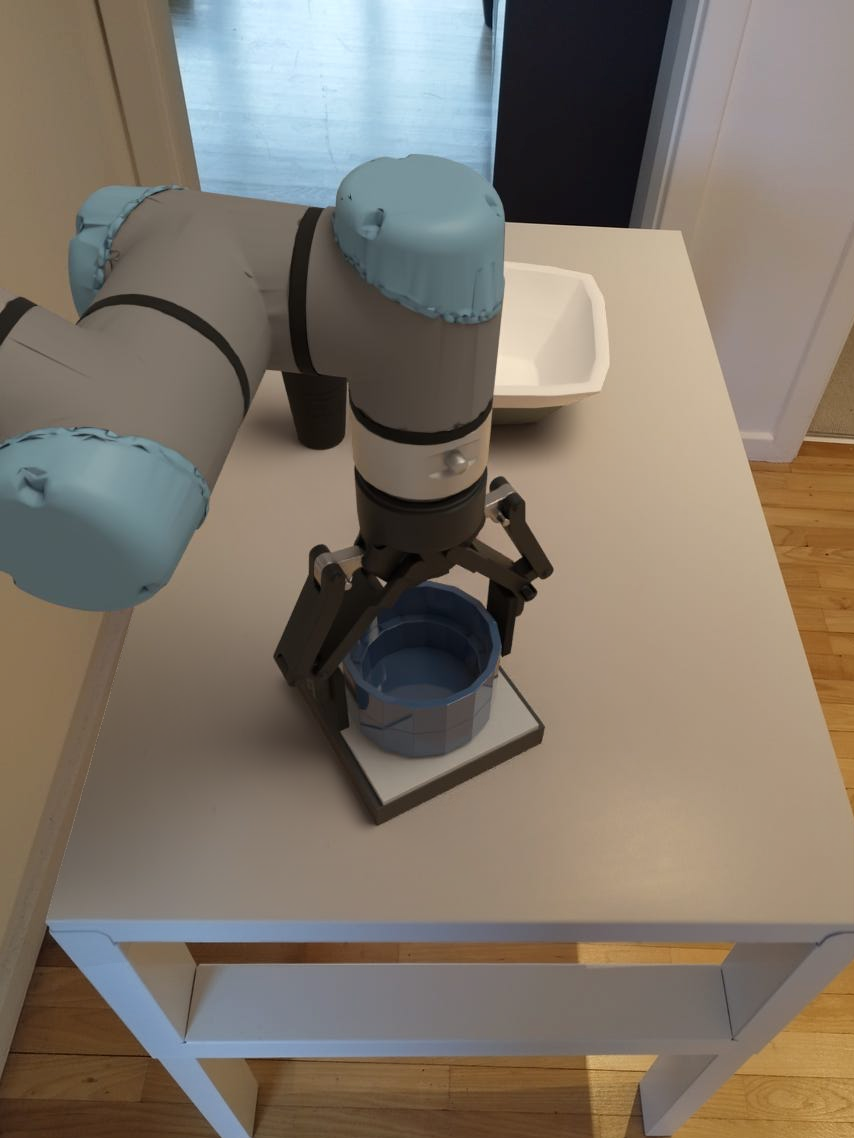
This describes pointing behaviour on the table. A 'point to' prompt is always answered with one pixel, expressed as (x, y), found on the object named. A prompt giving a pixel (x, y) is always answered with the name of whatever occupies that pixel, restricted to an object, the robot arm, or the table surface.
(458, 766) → the scale
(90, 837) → the table surface
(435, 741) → the blue bowl
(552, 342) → the bowl
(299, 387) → the drinking cup
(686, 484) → the table surface
